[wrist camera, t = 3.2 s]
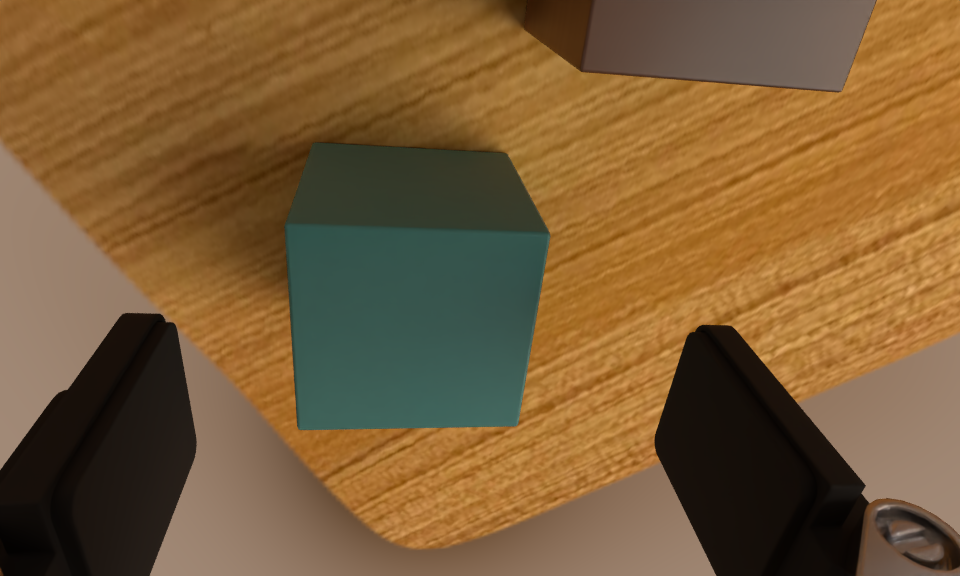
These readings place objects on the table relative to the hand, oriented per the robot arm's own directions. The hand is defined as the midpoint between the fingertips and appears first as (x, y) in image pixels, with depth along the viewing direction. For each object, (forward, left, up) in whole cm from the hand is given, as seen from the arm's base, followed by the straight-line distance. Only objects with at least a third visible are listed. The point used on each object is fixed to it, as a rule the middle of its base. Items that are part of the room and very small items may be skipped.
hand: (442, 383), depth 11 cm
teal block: (0, 0, -7) cm, 7 cm away
